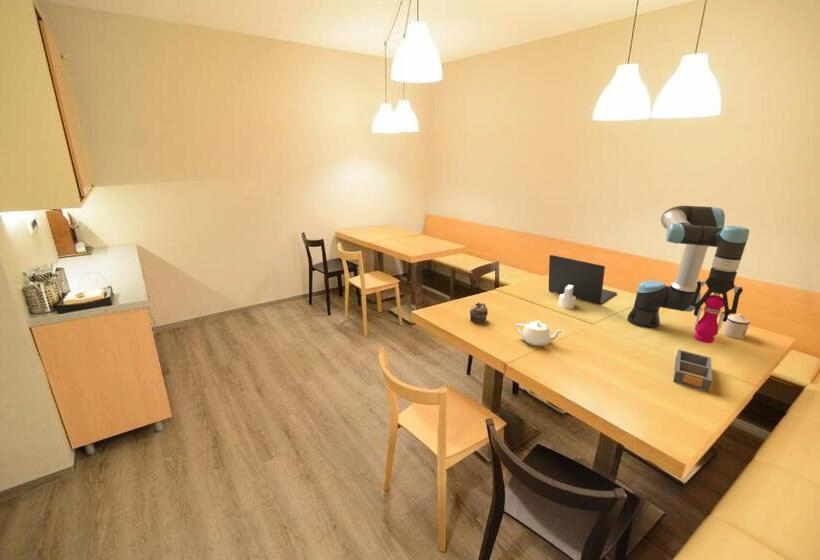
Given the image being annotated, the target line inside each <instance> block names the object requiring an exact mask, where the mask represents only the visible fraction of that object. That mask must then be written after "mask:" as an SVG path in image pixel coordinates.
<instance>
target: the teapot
mask: <svg viewBox="0 0 820 560" xmlns="http://www.w3.org/2000/svg"><path fill="white" fill-rule="evenodd" d="M514 326H515V330H516V331H517V332H518V333H519V334H520V335H521V337H522V339H523V340H524V341H525V343H526V344H528V345H531V346H535V347H543V346H545V345H548V344H549V343H551V341H554V340H555V339H557V337H558V335H559V333H561V332H564V330H563V329H557V330H556V331H555V333H554V334H552V332H551V329H550V327H549V325H548V324H547V323H544V322H542V321H540V320H533V321H532V320H531V321H528V322H527V323H526V324H524V323H516V324H515V325H514ZM519 326H520V327H523V329H522V331H521V330H520V329H519Z"/></svg>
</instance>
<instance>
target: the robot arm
mask: <svg viewBox="0 0 820 560" xmlns="http://www.w3.org/2000/svg"><path fill="white" fill-rule="evenodd" d="M725 220H726V217H725V211H724V209H722V208H721V207H714V206H713V207H712V206H700V205H699V206H697V205H677V206H673V207H671V208H668V209H667V210H665V212H663V213H662V215H661V218H660V223H661V224H662V227H663V228H665V229H666V235H665V240H666V242H668V243H673V244H675V245H676V244H681V245H685V248H684V251H683V253H682V258H681V261H680V265H679V268H678V271H677V275H676V277H675V280H674V281H672V282H671V283H670V285H669V286H668V285H666V283H665V282H663V281H659V280H644V281H642V282H641V281H640V282H639V284H638V287H637V289H636V296H635V301H634V304H633V308H632V309H631V311H630V312H629V313H628V314H627V318H626V319H627V322H628V323H629V324H631V325H634V326H637V327H639V328H645V329H658V328H659V327H660V324H661V319H660V314H659V313H660V308H662V309H669V310H672V311H673V310H674V311H678V312H679V311H680V312H688V313H690V312H693V316H695V317H696V318H695V319H694V320H695V321H694V326H695V325H697V324H698V321H699V320H700V317H701V314H702V309H703V308H702V306H703V305H704V304H705V303H704V302H705V301H706V299H707V298H708V297H709V296H710V295H713V294H714V293H719V294H720V295H722V298H723V301H724V306H723V308H724V311H721V312H720V316H719V320H718V322H717V324H718V331H720V330H721V328H722V325H723V322H725V323H726V321H727V318H728V316H730V315H731V314H732V315H736V313H737V310H738V304H739V300H740V297H741V294H742V293H743V291H744V290H743V287H742V286H737V285H735V281H736V280H735V279H736V276H737V273H738V272H737V271H738V270H739V267H740V263H741V261H742V257H743V254H744V251H745V248H746V245H747V242H748V241H749V235H750V230H749V228H747V227H743V226H738V225H725V222H726V221H725ZM709 247H712V248H713V247H714V248H716V250H715V252H714V253H715V254H714V256H713V259H712V263H711V268H710V271H709V274H708V278H707V279H705V280H700V279H699V276H700V274H701V270H702V267H703V264H704V261H705V257H706V255H707V251H708V248H709ZM704 285H706V286H707V290H706V291H705V292H704V294H703V295H702V293H701V290H702V288H703V287H704ZM732 290H733V293H734V295H733V301H732V305H731V306H732V307H731V309H730V308H729V302H728V301H729V300H728V294H727V293H728V292H730V291H732Z"/></svg>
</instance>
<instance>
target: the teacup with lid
mask: <svg viewBox="0 0 820 560" xmlns="http://www.w3.org/2000/svg"><path fill="white" fill-rule="evenodd" d="M750 324H751V322H750V320H749V319H747V318H745V316H743V314H741V313H737V314H732V315H731V314H730V315H728V318H727V321H726V322H725V324H724V326H723V330H722V333H723V335H724V336H725V337H728V338H732V339H736V340H738V339H739V340H742V339H744V338H745V337H746V334H747V330H748V328H749V325H750Z"/></svg>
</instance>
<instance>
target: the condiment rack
mask: <svg viewBox="0 0 820 560" xmlns="http://www.w3.org/2000/svg"><path fill="white" fill-rule="evenodd" d="M675 361H676V362H675V364H674V372H673V383H676V384H680V385H683V386H686V387H689V388H694V389H697V390H701V391H704V392H706V393H709V392H710V390H711V387H712V384H713V373H712V372H713V371H712V358H711V357H710V356H707V355H702V354H697V353H694V352H690V351H685V350H682V349H678V350H677V353H676V356H675Z"/></svg>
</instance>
